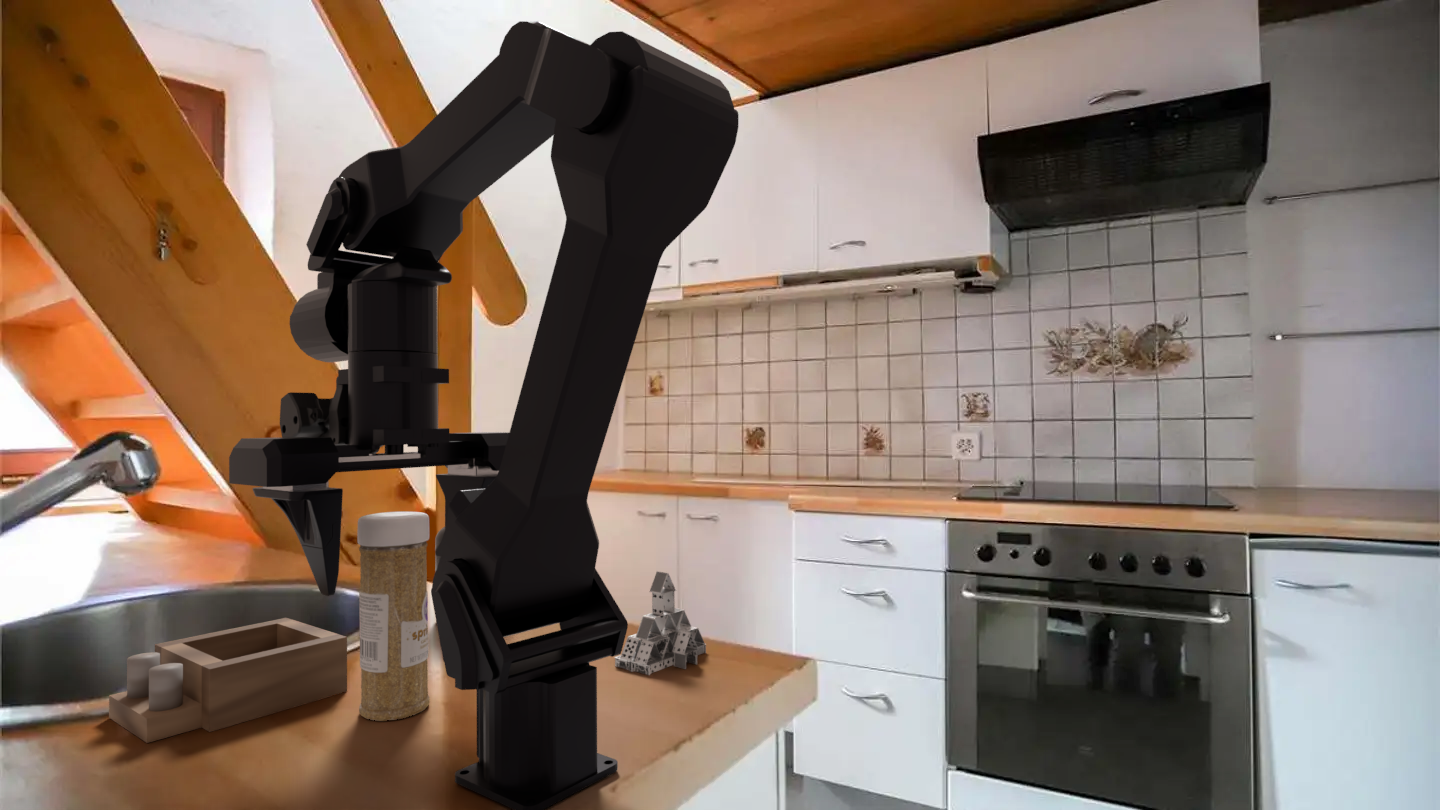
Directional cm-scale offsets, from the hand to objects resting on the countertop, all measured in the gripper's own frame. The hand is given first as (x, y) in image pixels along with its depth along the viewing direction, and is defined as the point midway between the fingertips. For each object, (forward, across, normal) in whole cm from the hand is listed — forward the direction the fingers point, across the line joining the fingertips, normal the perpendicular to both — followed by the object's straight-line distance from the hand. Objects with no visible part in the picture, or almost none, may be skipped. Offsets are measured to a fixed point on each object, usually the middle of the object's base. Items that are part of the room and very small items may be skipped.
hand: (394, 582), depth 54 cm
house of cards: (+9, -18, +10) cm, 23 cm away
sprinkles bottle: (+9, 0, 0) cm, 9 cm away
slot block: (+9, +4, -11) cm, 15 cm away
